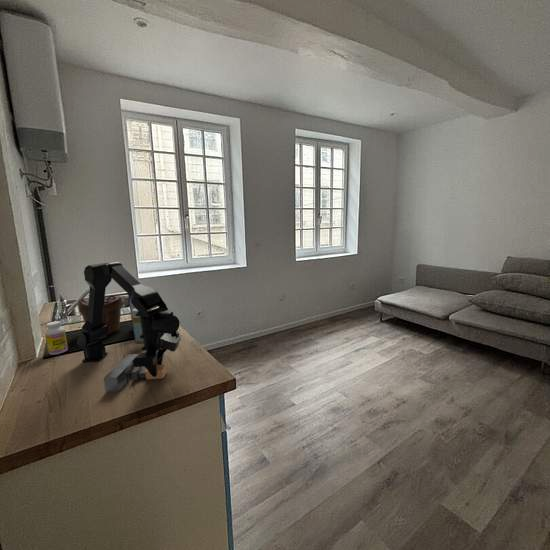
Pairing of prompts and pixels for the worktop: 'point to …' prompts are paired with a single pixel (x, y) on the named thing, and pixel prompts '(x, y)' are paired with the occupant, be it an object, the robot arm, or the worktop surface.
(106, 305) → the brown plant pot
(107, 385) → the housing
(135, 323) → the bottle
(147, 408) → the worktop surface
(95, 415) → the worktop surface
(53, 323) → the supplement bottle
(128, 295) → the milk carton
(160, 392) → the worktop surface
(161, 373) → the plug
